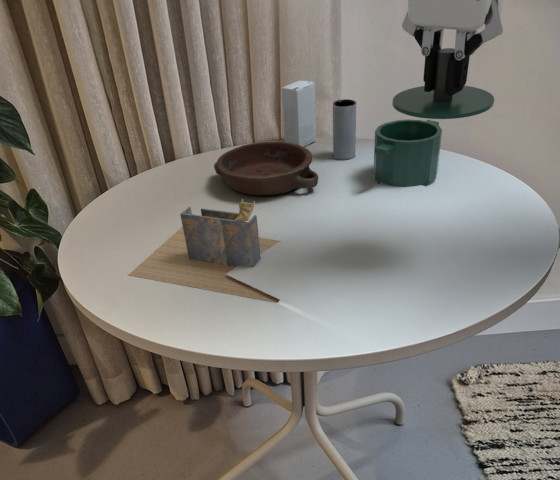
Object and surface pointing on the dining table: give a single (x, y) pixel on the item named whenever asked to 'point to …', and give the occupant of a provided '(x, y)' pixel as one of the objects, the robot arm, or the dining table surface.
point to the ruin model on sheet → (210, 252)
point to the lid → (443, 96)
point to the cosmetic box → (299, 113)
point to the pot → (407, 152)
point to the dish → (267, 168)
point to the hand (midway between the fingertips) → (443, 89)
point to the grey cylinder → (344, 129)
